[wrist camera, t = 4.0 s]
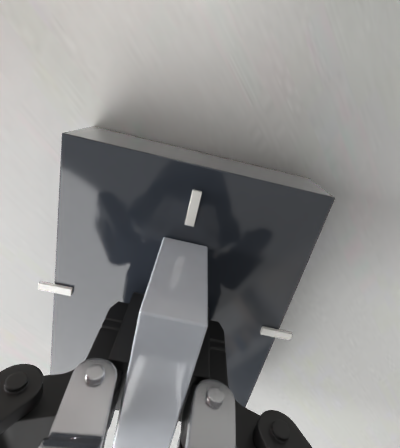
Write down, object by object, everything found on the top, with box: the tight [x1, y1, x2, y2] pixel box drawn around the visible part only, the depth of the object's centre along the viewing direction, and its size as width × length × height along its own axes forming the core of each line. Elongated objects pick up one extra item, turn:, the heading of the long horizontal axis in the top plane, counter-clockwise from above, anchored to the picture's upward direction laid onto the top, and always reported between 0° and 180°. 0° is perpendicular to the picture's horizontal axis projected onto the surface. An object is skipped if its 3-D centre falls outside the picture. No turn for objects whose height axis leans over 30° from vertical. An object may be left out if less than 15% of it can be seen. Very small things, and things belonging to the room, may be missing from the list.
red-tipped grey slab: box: [112, 237, 208, 448], centre depth 11 cm, size 7×2×5 cm, turn 167°
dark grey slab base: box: [38, 126, 335, 407], centre depth 14 cm, size 13×11×3 cm
